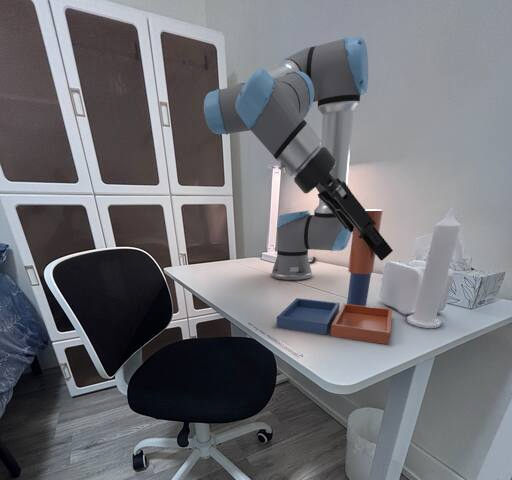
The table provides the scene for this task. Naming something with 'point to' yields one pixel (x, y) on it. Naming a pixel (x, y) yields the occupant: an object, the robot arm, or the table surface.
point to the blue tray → (308, 316)
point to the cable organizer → (407, 285)
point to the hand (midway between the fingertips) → (380, 253)
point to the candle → (436, 272)
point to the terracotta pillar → (363, 249)
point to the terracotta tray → (363, 323)
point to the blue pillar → (358, 289)
